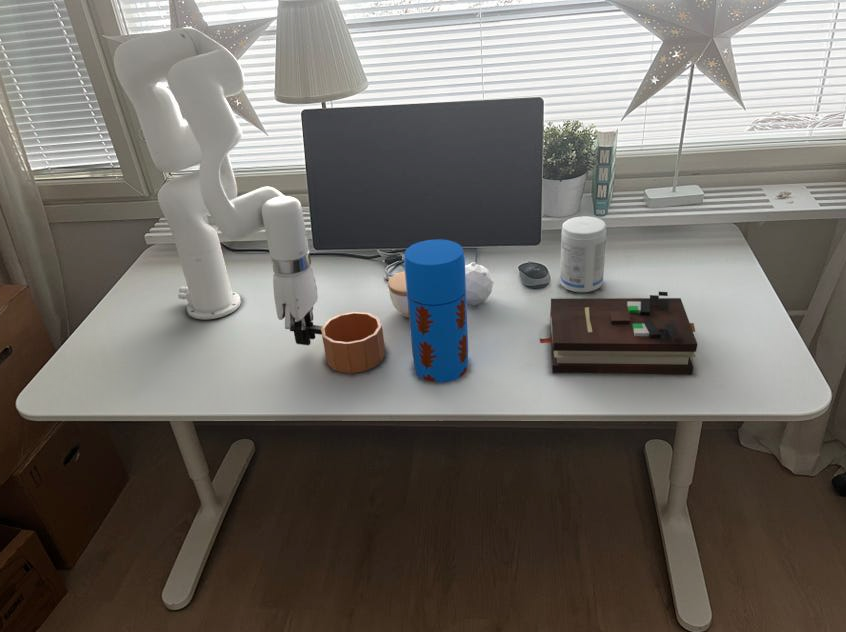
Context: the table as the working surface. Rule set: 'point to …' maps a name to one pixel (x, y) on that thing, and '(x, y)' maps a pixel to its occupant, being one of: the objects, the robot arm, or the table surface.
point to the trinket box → (399, 293)
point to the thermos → (437, 309)
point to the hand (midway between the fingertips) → (305, 340)
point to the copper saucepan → (352, 341)
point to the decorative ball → (477, 283)
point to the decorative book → (621, 336)
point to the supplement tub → (582, 254)
